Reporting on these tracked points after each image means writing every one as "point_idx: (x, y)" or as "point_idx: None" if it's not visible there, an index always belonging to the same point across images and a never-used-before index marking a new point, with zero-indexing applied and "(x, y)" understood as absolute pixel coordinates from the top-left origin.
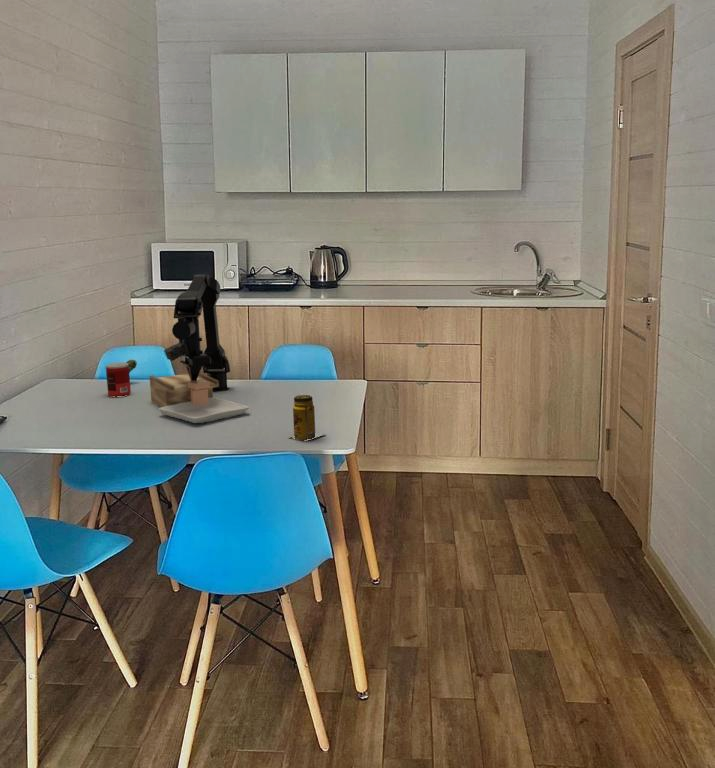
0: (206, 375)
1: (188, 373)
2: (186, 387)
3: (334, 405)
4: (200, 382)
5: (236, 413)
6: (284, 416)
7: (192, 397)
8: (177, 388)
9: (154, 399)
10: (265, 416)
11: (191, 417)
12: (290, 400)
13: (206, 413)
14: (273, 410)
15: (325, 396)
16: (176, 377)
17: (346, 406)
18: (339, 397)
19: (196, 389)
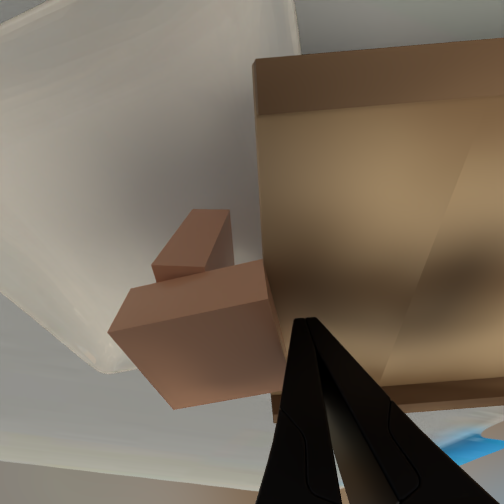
0: (465, 407)
1: (377, 390)
2: (292, 251)
3: (147, 461)
4: (159, 367)
5: (80, 325)
6: (63, 398)
7: (185, 232)
8: (303, 166)
9: None
10: (75, 370)
11: (87, 153)
12: (237, 429)
13: (167, 241)
14: (146, 394)
15: (234, 463)
16: None
17: (130, 468)
18: (211, 472)
19: (131, 294)
